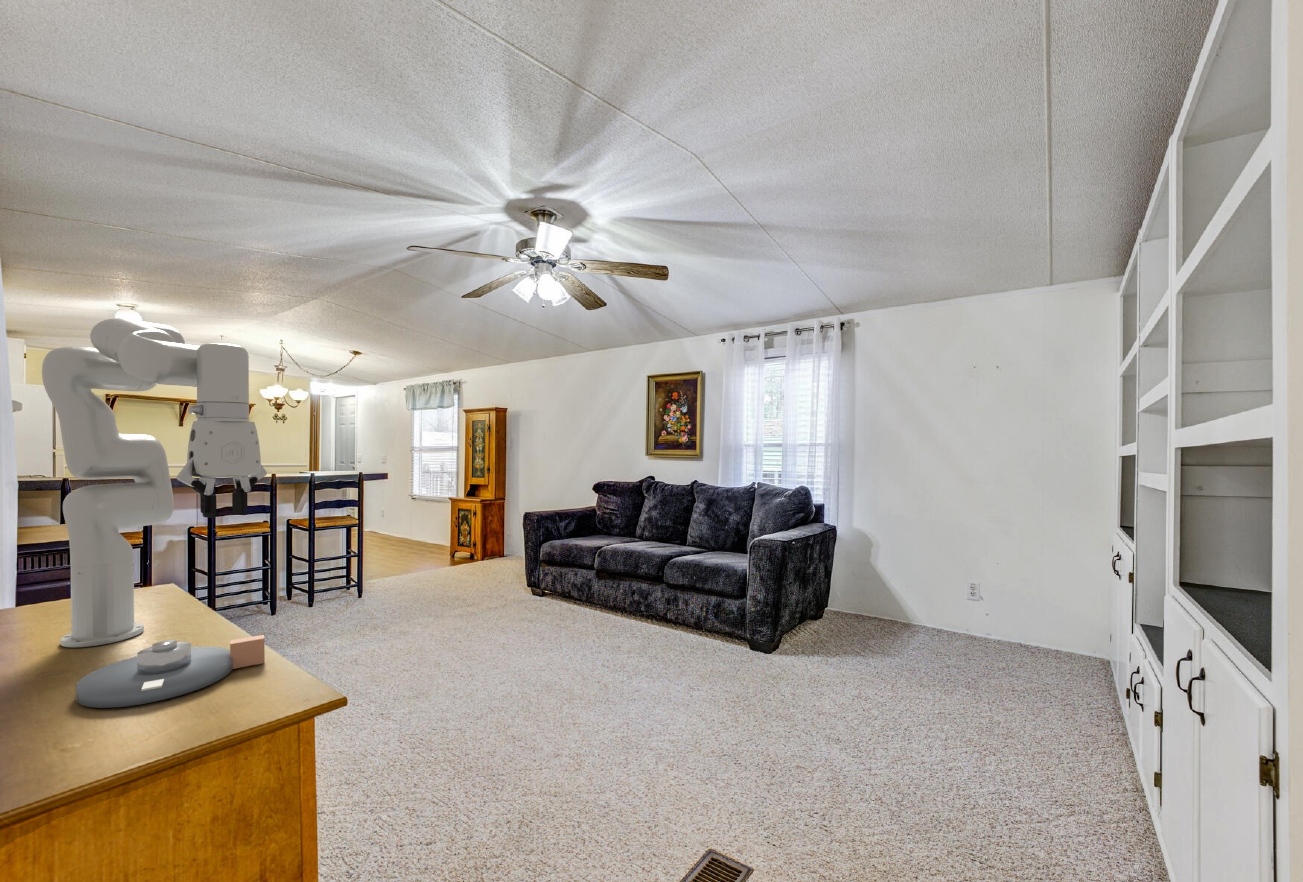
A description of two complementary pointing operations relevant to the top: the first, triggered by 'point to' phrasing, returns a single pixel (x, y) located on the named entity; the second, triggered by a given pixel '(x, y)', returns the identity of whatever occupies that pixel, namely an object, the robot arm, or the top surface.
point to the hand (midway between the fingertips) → (224, 514)
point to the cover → (163, 657)
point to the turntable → (166, 676)
